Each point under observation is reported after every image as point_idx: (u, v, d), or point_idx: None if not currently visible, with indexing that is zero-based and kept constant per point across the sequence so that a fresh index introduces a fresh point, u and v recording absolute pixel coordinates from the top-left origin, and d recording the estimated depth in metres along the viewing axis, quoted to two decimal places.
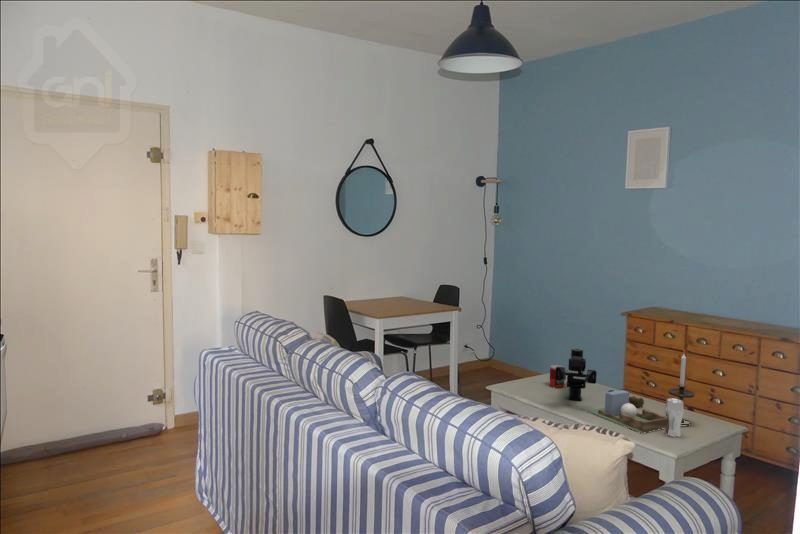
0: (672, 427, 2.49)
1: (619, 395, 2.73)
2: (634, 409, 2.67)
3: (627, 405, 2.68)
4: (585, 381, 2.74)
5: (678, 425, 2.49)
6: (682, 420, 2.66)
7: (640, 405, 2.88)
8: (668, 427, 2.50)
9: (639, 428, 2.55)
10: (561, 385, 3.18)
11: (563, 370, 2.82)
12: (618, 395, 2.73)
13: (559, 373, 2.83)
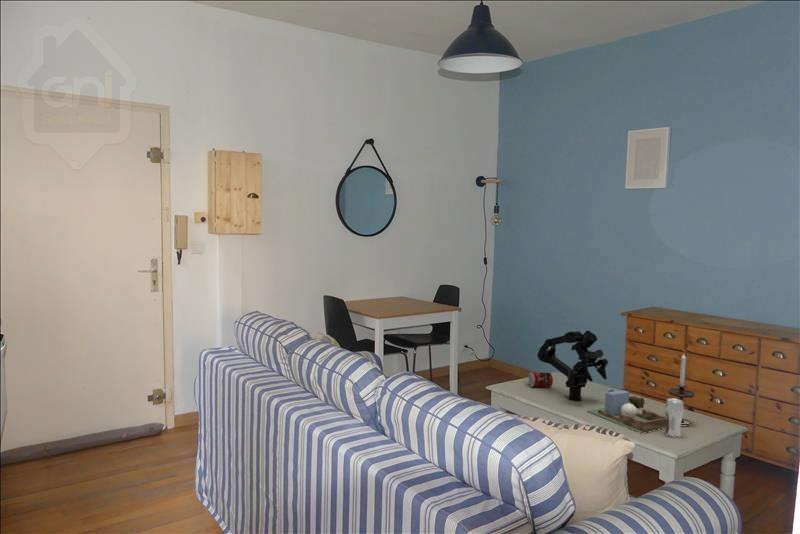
0: (672, 427, 2.49)
1: (619, 395, 2.73)
2: (634, 409, 2.67)
3: (627, 405, 2.68)
4: None
5: (678, 425, 2.49)
6: (682, 420, 2.66)
7: (641, 405, 2.88)
8: (668, 427, 2.50)
9: (639, 428, 2.55)
10: (550, 379, 3.17)
11: (586, 368, 2.85)
12: (618, 395, 2.73)
13: (581, 369, 2.85)
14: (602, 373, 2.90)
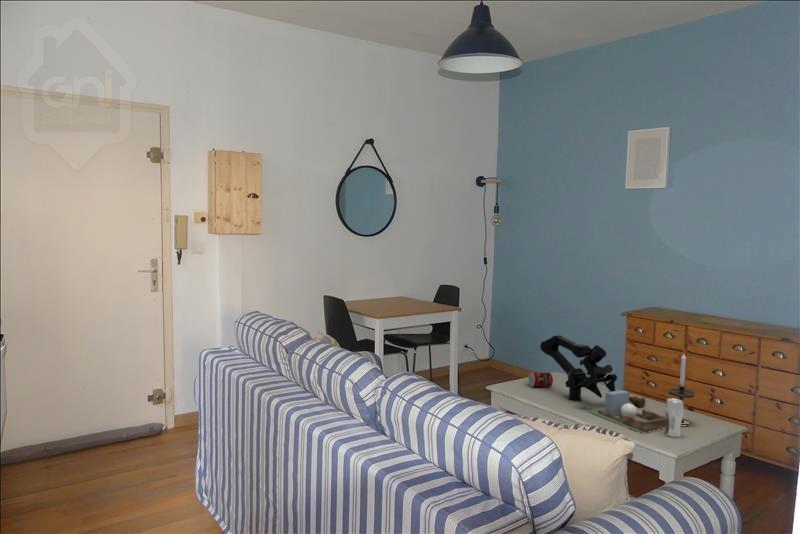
0: (672, 427, 2.49)
1: (619, 395, 2.73)
2: (634, 409, 2.67)
3: (627, 405, 2.68)
4: None
5: (678, 425, 2.49)
6: (682, 420, 2.66)
7: (642, 405, 2.88)
8: (668, 427, 2.50)
9: (639, 428, 2.55)
10: (550, 379, 3.17)
11: (596, 384, 2.80)
12: (618, 395, 2.73)
13: (590, 385, 2.80)
14: (611, 389, 2.85)
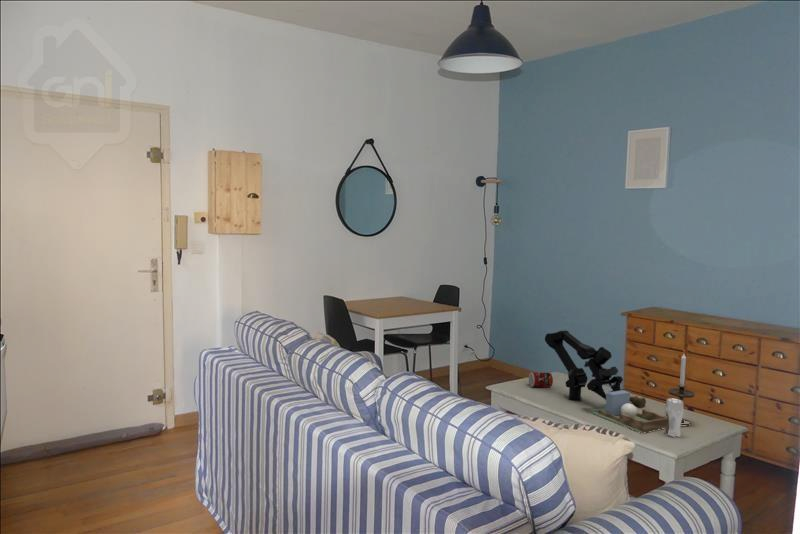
0: (672, 427, 2.49)
1: (620, 395, 2.73)
2: (634, 409, 2.67)
3: (627, 405, 2.68)
4: None
5: (678, 425, 2.49)
6: (682, 420, 2.66)
7: (642, 405, 2.88)
8: (668, 427, 2.50)
9: (639, 428, 2.55)
10: (550, 379, 3.17)
11: (601, 386, 2.77)
12: (619, 395, 2.73)
13: (595, 387, 2.77)
14: None
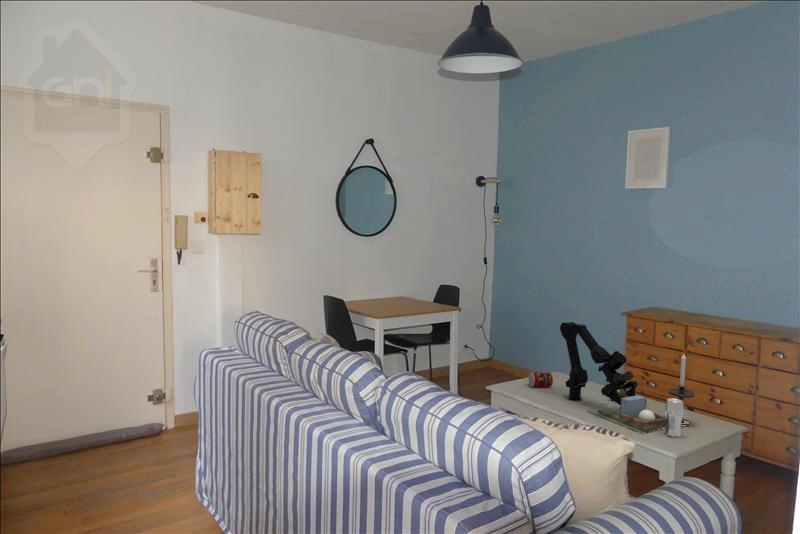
0: (672, 427, 2.49)
1: (635, 401, 2.65)
2: None
3: None
4: None
5: (678, 425, 2.49)
6: (682, 420, 2.66)
7: None
8: (668, 427, 2.50)
9: (639, 428, 2.55)
10: (550, 379, 3.17)
11: (616, 391, 2.69)
12: (634, 401, 2.65)
13: (610, 393, 2.69)
14: None
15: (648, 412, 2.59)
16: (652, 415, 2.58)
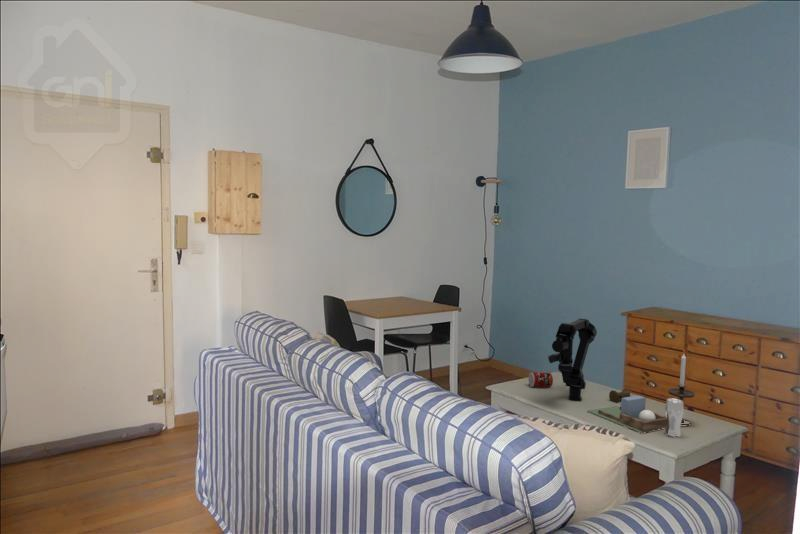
0: (672, 427, 2.49)
1: (635, 401, 2.65)
2: None
3: None
4: (565, 382, 2.85)
5: (678, 425, 2.49)
6: (682, 420, 2.66)
7: None
8: (668, 427, 2.50)
9: (639, 428, 2.55)
10: (550, 379, 3.17)
11: None
12: (634, 401, 2.65)
13: None
14: None
15: (649, 412, 2.59)
16: (653, 416, 2.58)
